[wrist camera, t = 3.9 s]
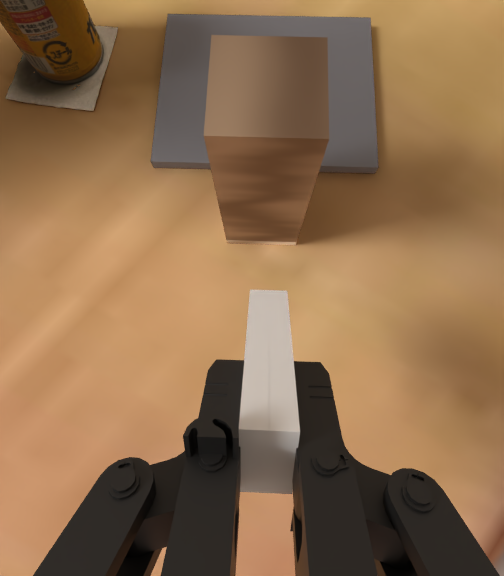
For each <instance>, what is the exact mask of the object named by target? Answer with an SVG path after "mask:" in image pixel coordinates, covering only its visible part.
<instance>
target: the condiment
mask: <svg viewBox="0 0 504 576" xmlns="http://www.w3.org/2000/svg"><path fill="white" fill-rule="evenodd" d="M0 22H1V24H2V25H3V26H4V28H5V29H6V30H7V32H8V33H9V35H10V36H11V37H12V39H13V40H14V42H15V43H16V44H17V46H18V47H19V48H20V50H21V51H22V53H23V56H22V58H21V61H20V62H19V64H18V67H17V71H16V73H15V76H14V79H13V81H12V83H11V85H10V87H9V89H8V93H7V95H6V98H5V99H10V100H16V101H19V102H26V103H34V104H39V105H47V106H55V107H57V108H60V107H64V108H72V109H77V110H80V109H81V110H90V111H94V107H95V103H96V100H97V97H98V94H99V89H100V87H101V84H102V79H103V77H104V74H105V71H106V69H107V66H108V63H109V59H110V56H111V52H112V49H113V46H114V42H115V39H116V36H117V31H118V27H107V26H94V24H93V22H92V20H91V17H90V15H89V13H88V11H87V8H86V6H85V4H84V1H83V0H0ZM34 72H35V73H34ZM79 84H80V86H77V85H79ZM75 87H76V89H75V90H73V88H75Z"/></svg>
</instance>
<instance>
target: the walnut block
mask: <svg viewBox="0 0 504 576" xmlns="http://www.w3.org/2000/svg"><path fill="white" fill-rule="evenodd" d="M204 140H205V144H206V149H207V153H208V158H209V163H210V167H211V172H212V176H213V181H214V185H215V190H216V194H217V199H218V204H219V208H220V213H221V217H222V222H223V226H224V231H225V235H226V240H227V243H239V244H272V245H296V243H297V240H298V236H299V233H300V230H301V227H302V224H303V221H304V217H305V214H306V211H307V208H308V205H309V202H310V198H311V195H312V192H313V189H314V186H315V183H316V179H317V176H318V173H319V170H320V167H321V164H322V160H323V157H324V154H325V151H326V148H327V145H328V141H329V93H328V37H286V36H235V35H211V48H210V61H209V73H208V86H207V99H206V112H205V125H204Z"/></svg>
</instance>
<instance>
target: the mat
mask: <svg viewBox="0 0 504 576" xmlns="http://www.w3.org/2000/svg"><path fill="white" fill-rule="evenodd" d="M211 35H235V36H286V37H328V93H329V141H328V145H327V148H326V151H325V154H324V157H323V160H322V164H321V167H320V170H319V172H343V173H375V172H376V171H377V169H378V149H377V130H376V111H375V93H374V74H373V55H372V37H371V18H359V17H305V16H251V15H197V14H168V17H167V25H166V34H165V43H164V51H163V60H162V69H161V77H160V86H159V94H158V103H157V112H156V120H155V129H154V138H153V146H152V155H151V163H152V165H153V167H154V168H192V169H211V167H210V163H209V158H208V153H207V149H206V144H205V140H204V125H205V112H206V99H207V86H208V73H209V61H210V48H211Z"/></svg>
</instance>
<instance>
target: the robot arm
mask: <svg viewBox="0 0 504 576" xmlns="http://www.w3.org/2000/svg"><path fill="white" fill-rule="evenodd" d="M331 387H332V386H331V381H330V377H329V373H328V372H327V370H326V369H325V368H324V366H323V365H322V364H321V362H297V361H294V359H293V348H292V337H291V326H290V315H289V304H288V293H287V291H278V290H250V297H249V309H248V322H247V334H246V346H245V358H244V360H216V361H215V362H214V363H213V365H212V366H211V367H210V368H209V370H208V373H207V378H206V385H205V388H204V394H203V398H202V403H201V408H200V413H199V418H198V419H196V420H194V421H193V422H192V423H191V424H190V425H189V426H188V427H187V429H186V431H185V433H184V435H183V439H184V446H185V451H184V452H183V453H182V454H180V455H179V456H177V457H175V458H172V459H170V460H167V461H163V462H160V463H156V464H152V465H149V464H148V462H146V461H144V460H142V459H140V458H132V457H129V458H125V459H121V460H118V461H117V462H115V463H113V464H112V465H110V466H109V467H108V468H107V469H106V470H105V471H104V472H103V473H102V474H101V475H100V477H99V478H98V480H97V481H96V483H95V484H94V486H93V487H92V489H91V490H90V492H89V493H88V495H87V496H86V498H85V499H84V501H83V502H82V504H81V505H80V507H79V508H78V510H77V511H76V512H75V514H74V515H73V517H72V518H71V520H70V521H69V523H68V524H67V526H66V527H65V529H64V530H63V532H62V533H61V535H60V536H59V538H58V539H57V541H56V542H55V544H54V545H53V547H52V548H51V550H50V551H49V553H48V554H47V556H46V557H45V559H44V560H43V562H42V563H41V565H40V566H39V567H38V569H37V570H36V572H35V573H34V575H33V576H150V575H151V573H152V570H153V568H154V566H155V564H156V561H157V559H158V557H159V554H160V552H161V550H162V548H164V547H167V549H166V554H165V559H164V563H163V568H162V573H161V576H235V572H236V556H237V540H238V524H239V497H240V492H259V493H281V494H292V491H293V500H294V509H293V516H292V523H291V531H293V537H294V556H295V575H296V576H499V574H498V572H497V571H496V569H495V568H494V566H493V565H492V563H491V562H490V560H489V559H488V557H487V556H486V554H485V553H484V551H483V550H482V548H481V547H480V545H479V544H478V542H477V541H476V539H475V538H474V536H473V535H472V533H471V532H470V530H469V529H468V527H467V525H466V524H465V522H464V521H463V519H462V518H461V516H460V515H459V513H458V512H457V510H456V509H455V507H454V506H453V504H452V503H451V501H450V500H449V498H448V497H447V495H446V494H445V492H444V491H443V489H442V488H441V487H440V486H439V485H438V484H437V482H436V481H435V480H434V479H432V478H431V477H429V476H428V475H426V474H425V473H423V472H421V471H418V470H415V469H406V468H402V469H399V470H397V471H395V472H393V474H392V475H389V474H386V473H383V472H380V471H377V470H375V469H372V468H369V467H367V466H365V465H363V464H361V463H360V462H358V461H357V460H356V459H354V458H353V456H352V455H351V454H350V453H349V452H348V450H347V449H346V447H345V445H344V442H343V439H342V435H341V430H340V425H339V420H338V415H337V411H336V406H335V401H334V396H333V391H332V388H331Z"/></svg>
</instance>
